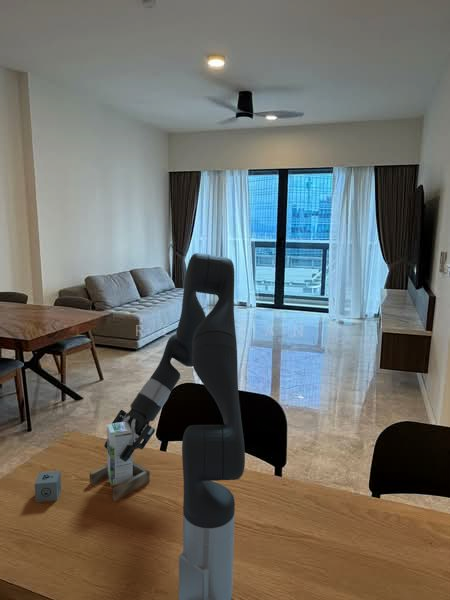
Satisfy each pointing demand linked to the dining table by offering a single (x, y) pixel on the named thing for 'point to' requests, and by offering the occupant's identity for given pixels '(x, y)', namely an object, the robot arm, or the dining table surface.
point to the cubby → (127, 486)
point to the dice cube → (48, 486)
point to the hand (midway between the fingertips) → (114, 454)
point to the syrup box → (118, 453)
